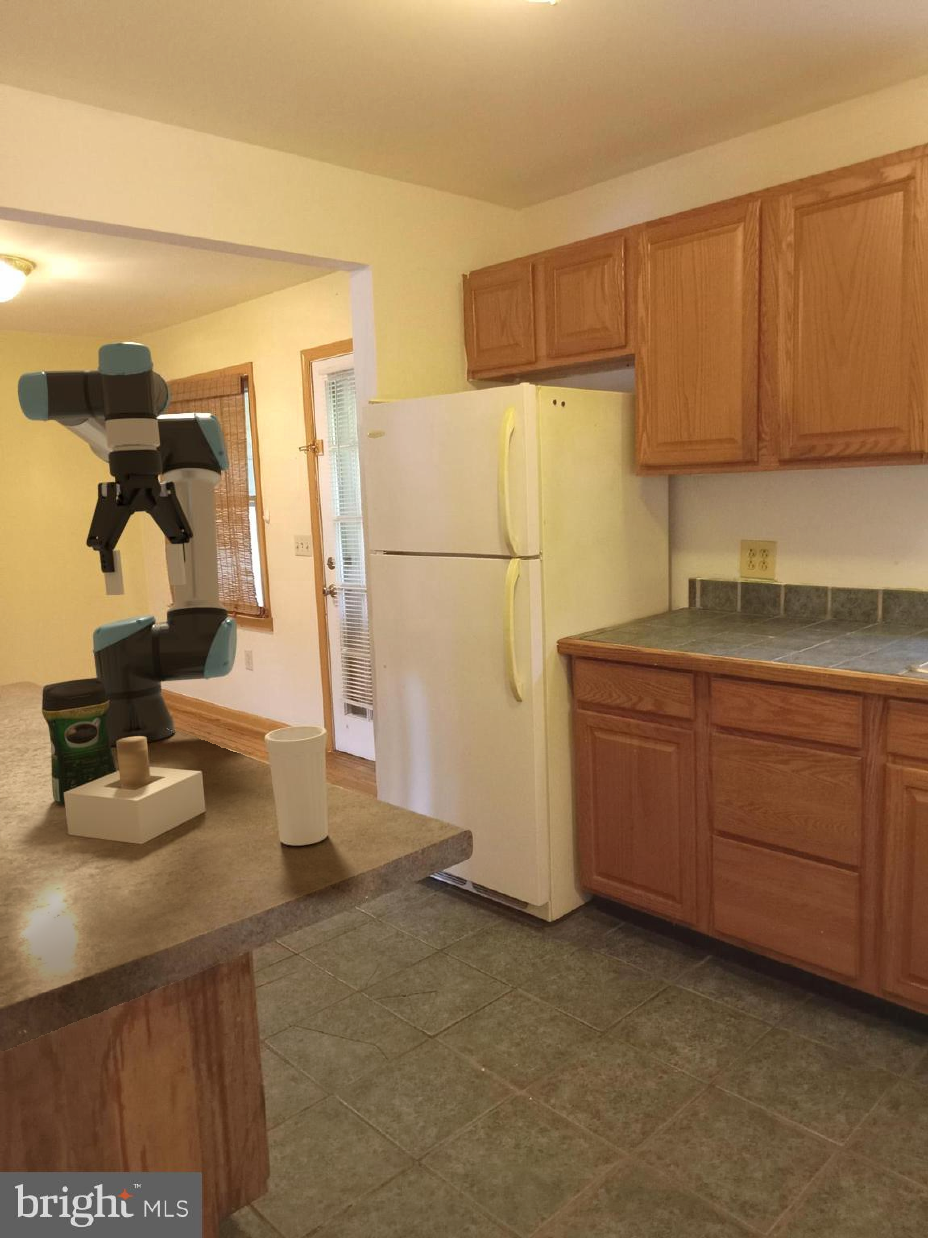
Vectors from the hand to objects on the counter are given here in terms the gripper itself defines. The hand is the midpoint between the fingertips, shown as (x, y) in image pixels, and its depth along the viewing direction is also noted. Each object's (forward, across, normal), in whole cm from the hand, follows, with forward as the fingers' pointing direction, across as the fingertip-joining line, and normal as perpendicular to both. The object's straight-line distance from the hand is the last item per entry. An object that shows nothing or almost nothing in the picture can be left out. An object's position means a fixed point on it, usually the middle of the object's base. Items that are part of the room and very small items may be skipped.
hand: (148, 589), depth 140 cm
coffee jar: (+32, +7, -10) cm, 34 cm away
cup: (+32, +13, +34) cm, 48 cm away
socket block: (+32, +14, +7) cm, 35 cm away
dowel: (+32, +14, +7) cm, 35 cm away
